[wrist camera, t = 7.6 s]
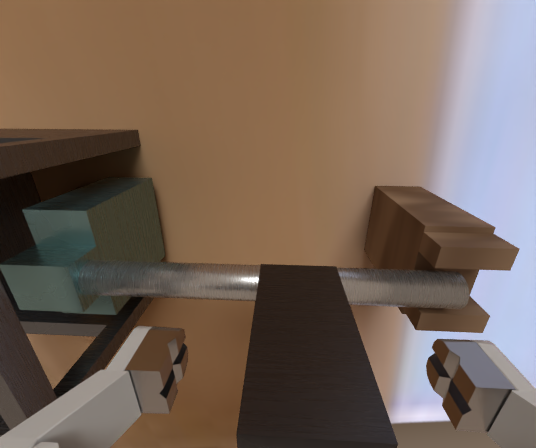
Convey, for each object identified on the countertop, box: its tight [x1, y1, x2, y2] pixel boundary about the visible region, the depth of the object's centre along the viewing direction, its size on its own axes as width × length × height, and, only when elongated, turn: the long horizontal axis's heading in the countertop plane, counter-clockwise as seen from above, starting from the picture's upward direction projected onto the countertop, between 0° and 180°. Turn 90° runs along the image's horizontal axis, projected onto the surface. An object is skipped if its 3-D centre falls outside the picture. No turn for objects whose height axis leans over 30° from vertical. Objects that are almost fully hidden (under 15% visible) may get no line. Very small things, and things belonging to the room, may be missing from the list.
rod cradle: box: [364, 186, 519, 333], centre depth 15 cm, size 3×5×8 cm, turn 0°
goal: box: [0, 129, 154, 437], centre depth 14 cm, size 10×12×12 cm
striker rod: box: [0, 177, 469, 448], centre depth 12 cm, size 20×6×14 cm, turn 90°
